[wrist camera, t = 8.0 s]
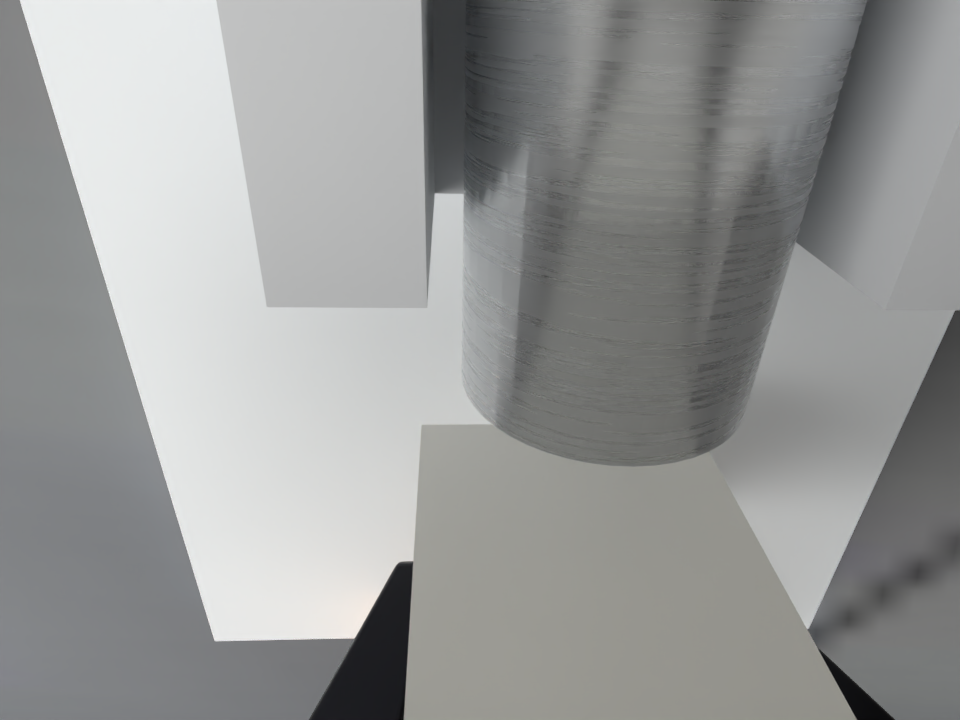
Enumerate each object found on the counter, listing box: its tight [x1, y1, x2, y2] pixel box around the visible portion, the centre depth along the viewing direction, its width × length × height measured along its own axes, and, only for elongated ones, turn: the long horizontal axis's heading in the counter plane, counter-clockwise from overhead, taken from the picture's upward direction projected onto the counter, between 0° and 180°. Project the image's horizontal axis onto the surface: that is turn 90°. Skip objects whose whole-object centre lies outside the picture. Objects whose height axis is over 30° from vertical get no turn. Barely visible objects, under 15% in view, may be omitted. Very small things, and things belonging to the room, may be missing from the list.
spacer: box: [404, 424, 857, 720], centre depth 8 cm, size 4×4×5 cm
